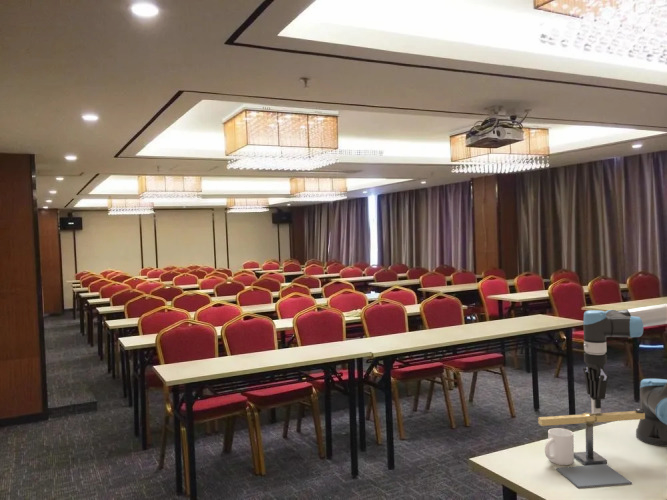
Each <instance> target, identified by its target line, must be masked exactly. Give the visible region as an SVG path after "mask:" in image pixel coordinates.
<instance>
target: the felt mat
mask: <svg viewBox="0 0 667 500" xmlns="http://www.w3.org/2000/svg"><path fill="white" fill-rule="evenodd" d="M555 470H556V471H557V472H559V473H560V474H561V475H562V476H564V477H563V478H565V479H567V480H568V481H569V482H570V483H571V484H572V485H573V486H575V487H576V488H577V489H586V488H587V489H588V488H599V487H611V486H613V487H614V486H625V485H632V484H633V482H632V481H631V480H630V479H628V478H626V477H625V476H624V475H623V474H621V473H620V472H618V471H617V470H615V469H614V468H612V467H611V466H609V465H608V463H607V464H601V465H587V466H585V465H576V466H575V465H574V466H562V467H561V466H560V467H556V469H555Z"/></svg>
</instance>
